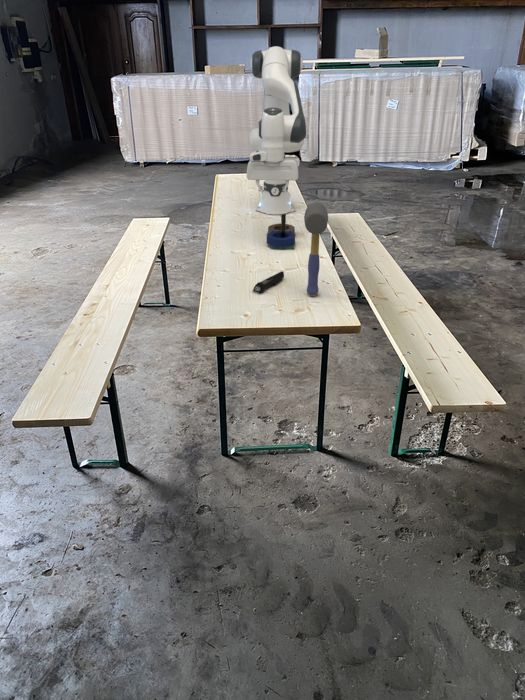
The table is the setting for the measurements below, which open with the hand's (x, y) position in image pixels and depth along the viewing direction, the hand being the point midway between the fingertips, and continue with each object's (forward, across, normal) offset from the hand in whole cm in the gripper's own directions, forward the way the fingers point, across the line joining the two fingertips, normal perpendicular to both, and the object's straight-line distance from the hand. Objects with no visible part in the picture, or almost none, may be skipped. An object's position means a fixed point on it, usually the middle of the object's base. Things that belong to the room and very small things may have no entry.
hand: (272, 191), depth 209 cm
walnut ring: (+22, -3, -14) cm, 26 cm away
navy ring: (+21, -4, 0) cm, 21 cm away
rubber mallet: (+22, -16, +49) cm, 56 cm away
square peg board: (+22, -5, 0) cm, 23 cm away
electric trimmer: (+22, -1, +42) cm, 48 cm away
